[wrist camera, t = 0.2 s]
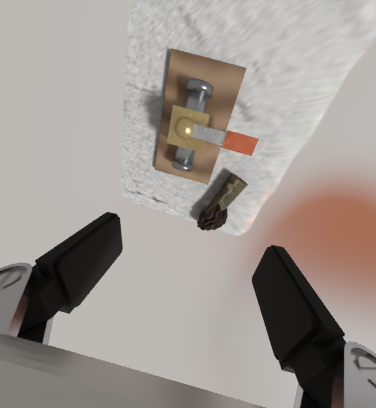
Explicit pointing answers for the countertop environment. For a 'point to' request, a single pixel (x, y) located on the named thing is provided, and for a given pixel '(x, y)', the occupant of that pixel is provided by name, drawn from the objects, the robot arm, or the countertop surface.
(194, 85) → the pipe and valve
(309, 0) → the countertop surface
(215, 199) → the olive brown elongated lump
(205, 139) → the valve lever
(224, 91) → the mounting board
